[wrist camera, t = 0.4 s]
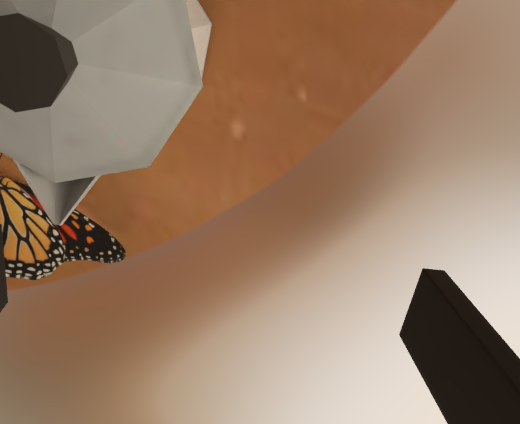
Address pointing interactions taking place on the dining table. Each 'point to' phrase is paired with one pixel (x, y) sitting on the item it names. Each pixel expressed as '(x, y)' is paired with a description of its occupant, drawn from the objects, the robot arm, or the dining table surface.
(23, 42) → the coffee maker
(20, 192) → the butterfly
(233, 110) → the dining table surface
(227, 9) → the dining table surface
